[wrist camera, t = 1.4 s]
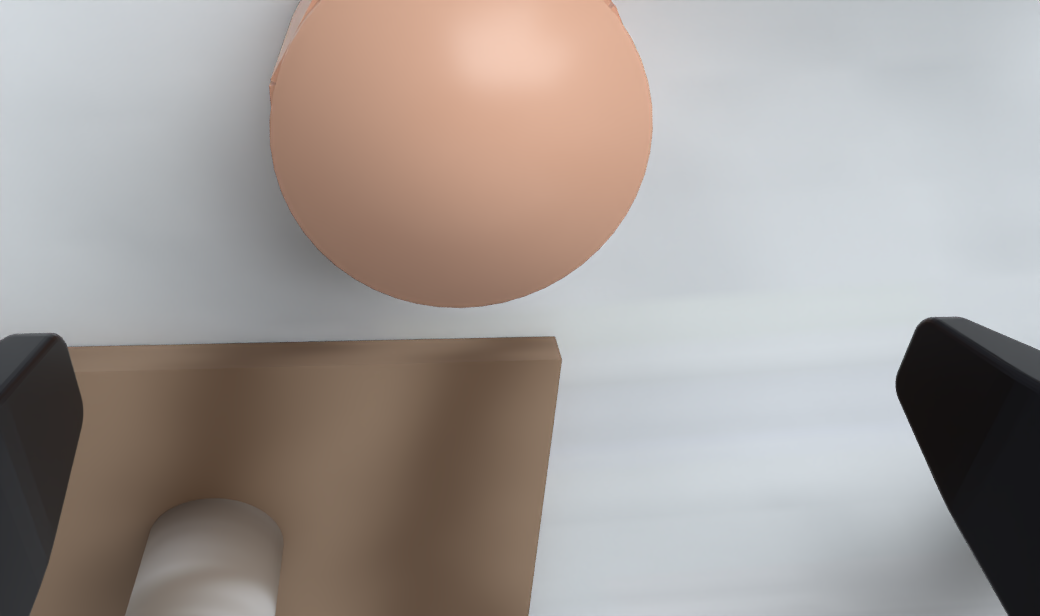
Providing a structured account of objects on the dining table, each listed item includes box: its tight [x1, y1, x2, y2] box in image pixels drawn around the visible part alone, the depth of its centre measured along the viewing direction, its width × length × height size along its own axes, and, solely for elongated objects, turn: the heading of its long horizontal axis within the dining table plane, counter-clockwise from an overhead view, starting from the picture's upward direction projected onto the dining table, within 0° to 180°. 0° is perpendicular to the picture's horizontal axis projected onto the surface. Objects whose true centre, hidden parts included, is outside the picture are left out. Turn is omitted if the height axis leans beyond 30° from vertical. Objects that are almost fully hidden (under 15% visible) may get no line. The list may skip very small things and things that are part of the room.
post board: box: [30, 337, 562, 616], centre depth 21 cm, size 18×12×6 cm, turn 86°
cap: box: [269, 0, 653, 308], centre depth 15 cm, size 6×6×4 cm
